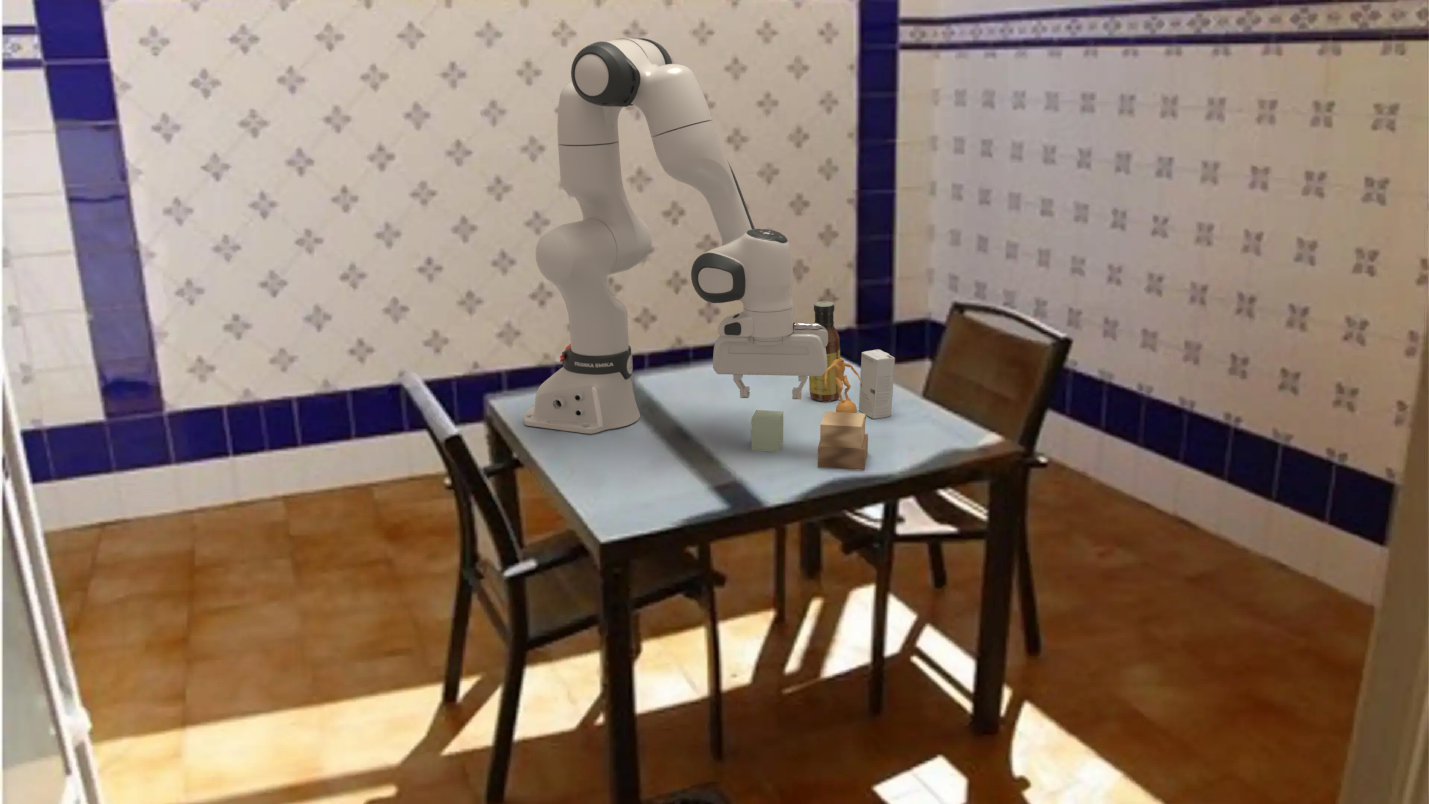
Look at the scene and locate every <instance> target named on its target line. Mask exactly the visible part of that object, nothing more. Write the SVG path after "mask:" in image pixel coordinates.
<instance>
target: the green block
mask: <svg viewBox="0 0 1429 804" xmlns="http://www.w3.org/2000/svg"><path fill="white" fill-rule="evenodd" d="M750 421H751V426H750V427H751V428H750V429H751V451H761V452H763V451H764V452H780V451H781V448H782V446H783V443H784V411H783V410H765V409H756V410H754V413H753V415H752V417H751V420H750Z"/></svg>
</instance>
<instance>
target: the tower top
mask: <svg viewBox="0 0 1429 804" xmlns="http://www.w3.org/2000/svg"><path fill="white" fill-rule="evenodd" d="M819 425H820V426H819V427H820V428H819V431H820V432H819V435H820V436H819V437H820V438H819V439H820V440H819V442H820V446H823V447H839V448H855V449H861V446H862V443H863V440H864V436H865V434H866V414H864V413H863V412H861V413H860V412H856V413H845V412H836V411H825V412H824V415H823V417H822V419H821V422H820V423H819Z"/></svg>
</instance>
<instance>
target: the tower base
mask: <svg viewBox="0 0 1429 804" xmlns="http://www.w3.org/2000/svg"><path fill="white" fill-rule="evenodd" d="M868 444H869V434H868V433H865V436H864V440H863V443H862V446H861V449H855V448H839V447H823V446H820V441H819V443H818V446H817V468H819V469H820V468H823V469H839V470H841V469H842V470H855V469H860V470H859V471H865V468H866V467H865V466H866V463H867V458H868V453H869V452H868V450H869V449H868V448H869V445H868Z"/></svg>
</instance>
